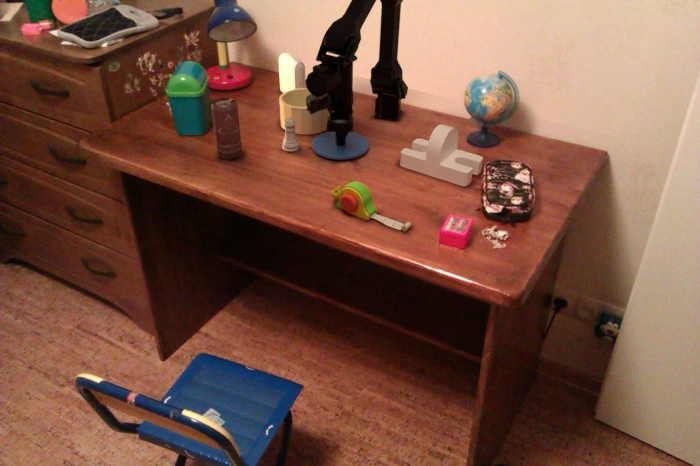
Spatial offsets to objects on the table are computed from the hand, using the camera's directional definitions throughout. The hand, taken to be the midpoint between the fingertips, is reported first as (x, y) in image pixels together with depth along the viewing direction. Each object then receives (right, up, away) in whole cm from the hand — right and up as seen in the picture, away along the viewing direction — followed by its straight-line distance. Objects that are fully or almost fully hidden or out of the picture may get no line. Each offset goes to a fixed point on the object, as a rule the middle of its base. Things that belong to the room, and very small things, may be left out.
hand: (340, 141), depth 153 cm
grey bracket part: (+24, -7, -6) cm, 26 cm away
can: (-28, -4, -2) cm, 28 cm away
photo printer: (-15, +18, +29) cm, 38 cm away
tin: (-10, +7, +13) cm, 18 cm away
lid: (0, -1, +1) cm, 1 cm away
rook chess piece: (-13, -2, +1) cm, 13 cm away
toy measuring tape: (+7, -20, -23) cm, 31 cm away
